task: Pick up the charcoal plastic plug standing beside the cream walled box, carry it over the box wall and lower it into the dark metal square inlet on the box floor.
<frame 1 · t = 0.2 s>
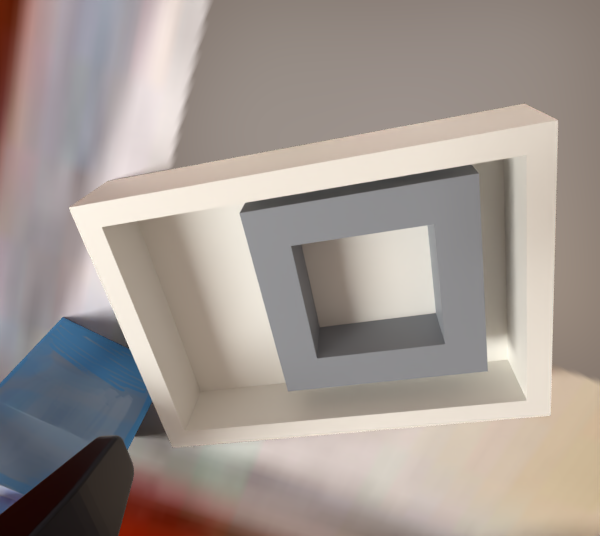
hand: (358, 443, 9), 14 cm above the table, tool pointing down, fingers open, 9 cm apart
perfume bottle: (100, 378, 28), on the table
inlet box: (328, 278, 24), on the table
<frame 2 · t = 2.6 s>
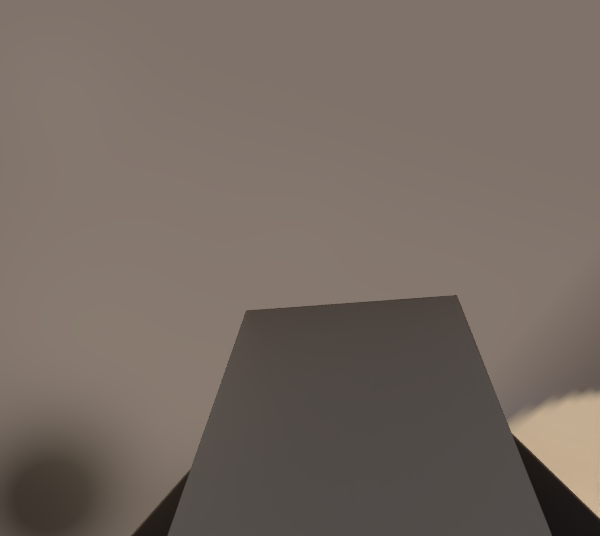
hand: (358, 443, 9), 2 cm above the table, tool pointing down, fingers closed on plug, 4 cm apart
plug: (357, 385, 10), on the table, touching gripper
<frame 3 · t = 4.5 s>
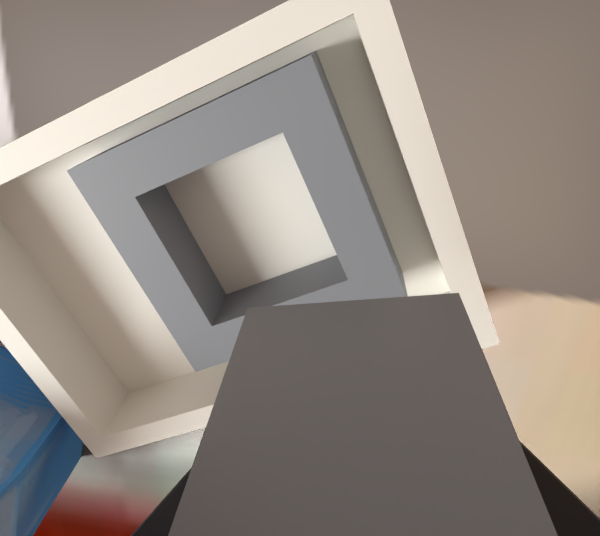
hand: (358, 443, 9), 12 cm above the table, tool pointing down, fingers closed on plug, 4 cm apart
plug: (358, 383, 10), point 11 cm above the table, touching gripper
perfume bottle: (31, 397, 26), on the table
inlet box: (220, 236, 21), on the table
when the fingers open (4 cm above the table, at t = 6.6 s): plug drops 2 cm, resting on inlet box.
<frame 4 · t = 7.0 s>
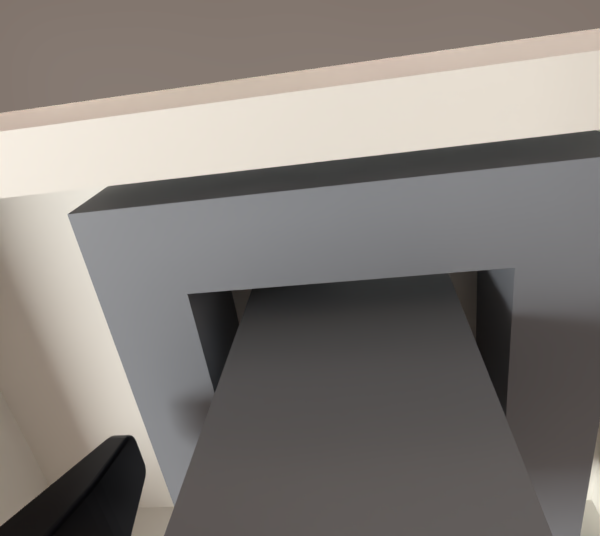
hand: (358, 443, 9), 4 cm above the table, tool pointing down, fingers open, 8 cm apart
plug: (355, 332, 12), point 1 cm above the table, touching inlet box
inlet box: (280, 342, 13), on the table
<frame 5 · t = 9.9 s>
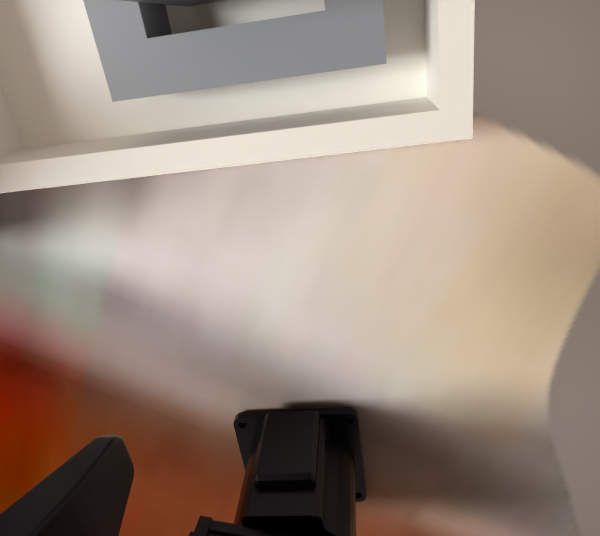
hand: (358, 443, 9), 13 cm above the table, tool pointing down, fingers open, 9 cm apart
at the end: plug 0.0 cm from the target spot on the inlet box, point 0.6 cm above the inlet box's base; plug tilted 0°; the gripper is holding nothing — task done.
